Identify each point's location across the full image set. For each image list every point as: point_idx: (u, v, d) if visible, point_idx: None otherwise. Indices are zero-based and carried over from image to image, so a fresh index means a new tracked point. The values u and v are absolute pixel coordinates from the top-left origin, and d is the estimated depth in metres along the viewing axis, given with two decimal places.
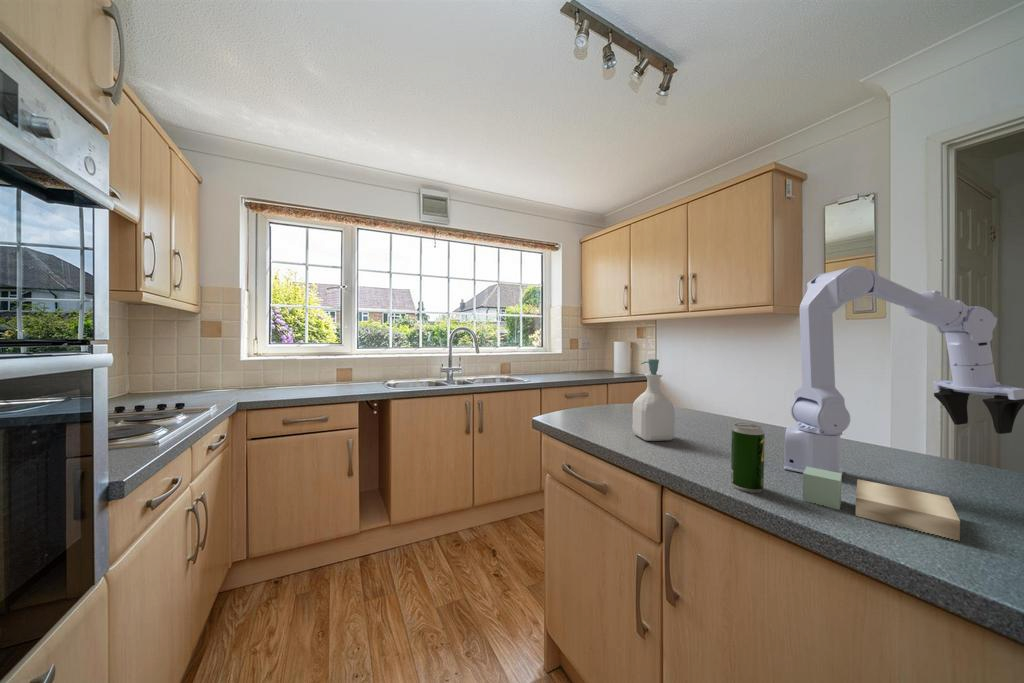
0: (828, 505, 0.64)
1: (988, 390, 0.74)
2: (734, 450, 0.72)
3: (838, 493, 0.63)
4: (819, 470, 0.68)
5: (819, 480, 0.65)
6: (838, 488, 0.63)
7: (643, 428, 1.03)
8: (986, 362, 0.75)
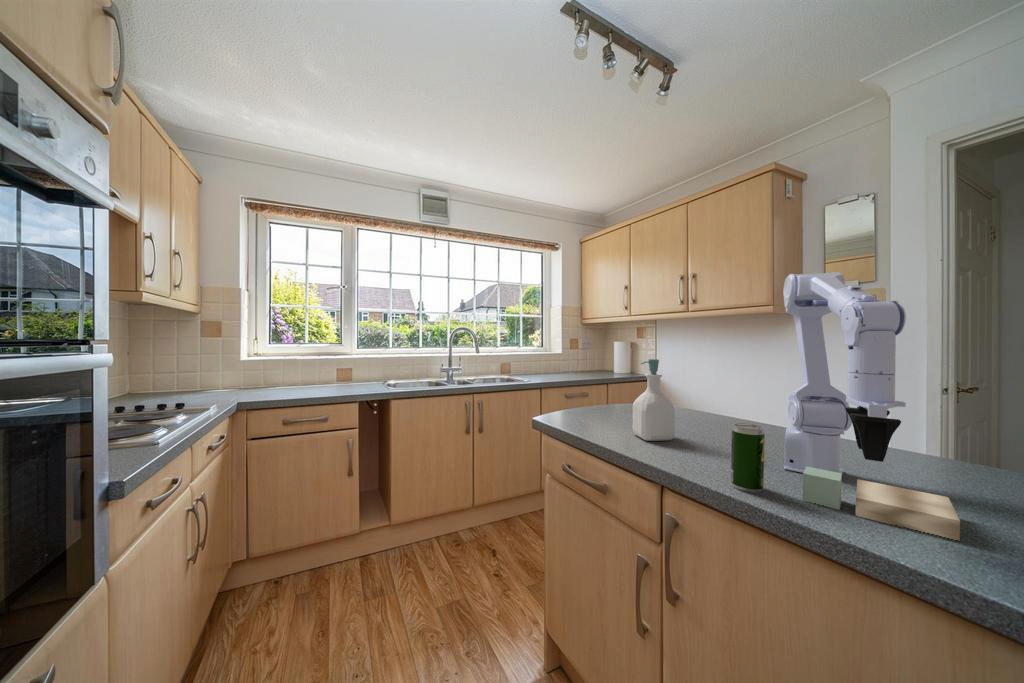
0: (828, 505, 0.64)
1: (859, 403, 0.60)
2: (734, 450, 0.72)
3: (838, 493, 0.63)
4: (819, 470, 0.68)
5: (819, 480, 0.65)
6: (838, 488, 0.63)
7: (644, 428, 1.03)
8: (849, 369, 0.63)
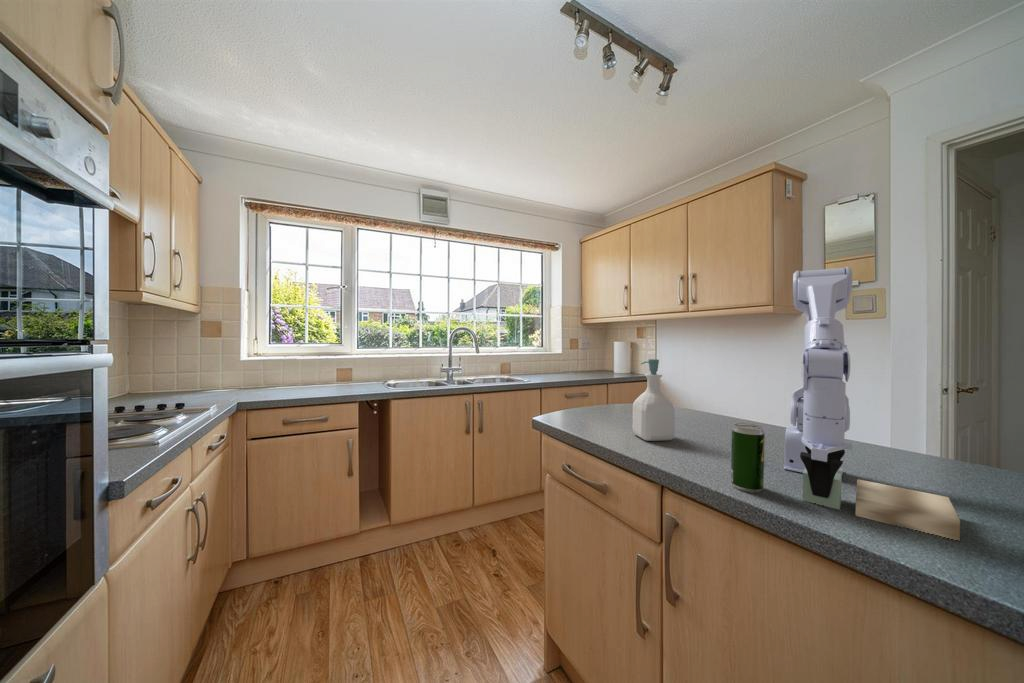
0: (828, 504, 0.64)
1: (807, 445, 0.65)
2: (734, 450, 0.72)
3: (838, 492, 0.63)
4: None
5: None
6: (838, 487, 0.63)
7: (644, 428, 1.03)
8: (803, 411, 0.68)
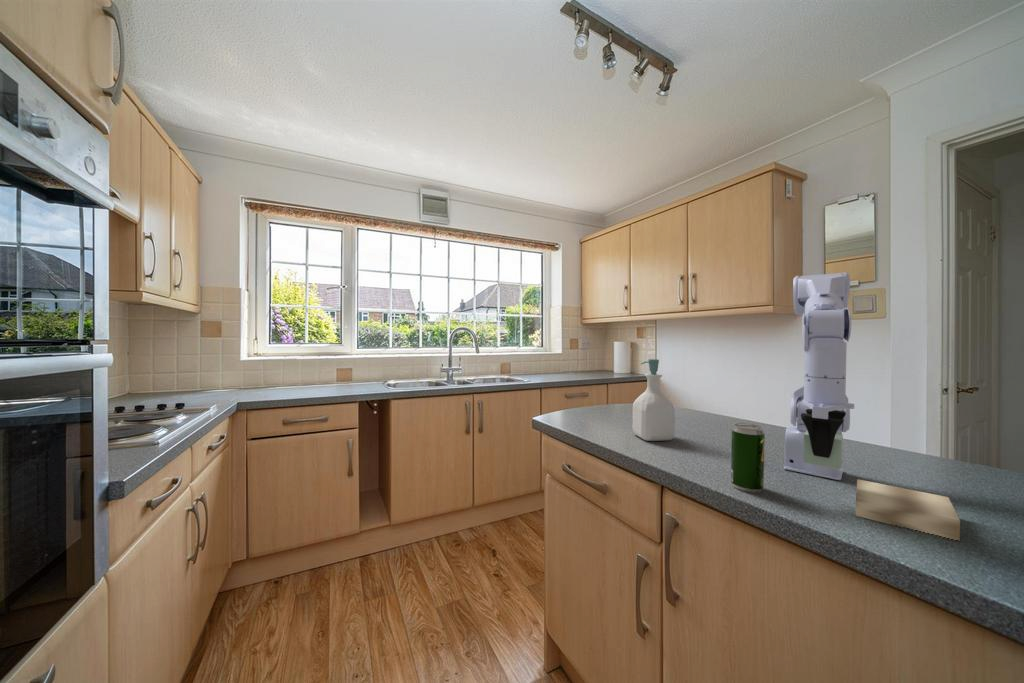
0: (829, 465, 0.64)
1: (808, 405, 0.65)
2: (734, 450, 0.72)
3: (839, 452, 0.63)
4: None
5: None
6: (839, 447, 0.63)
7: (644, 428, 1.03)
8: (804, 373, 0.68)
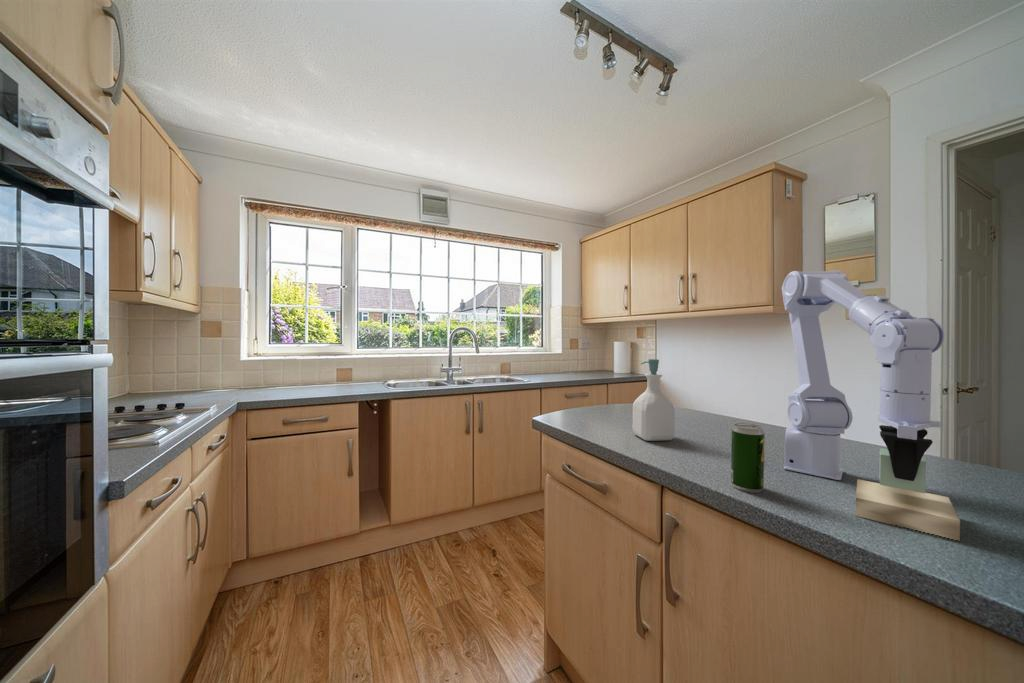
0: (911, 488, 0.59)
1: (889, 423, 0.59)
2: (734, 450, 0.72)
3: (923, 475, 0.58)
4: None
5: None
6: (923, 469, 0.58)
7: (644, 428, 1.03)
8: (885, 388, 0.61)
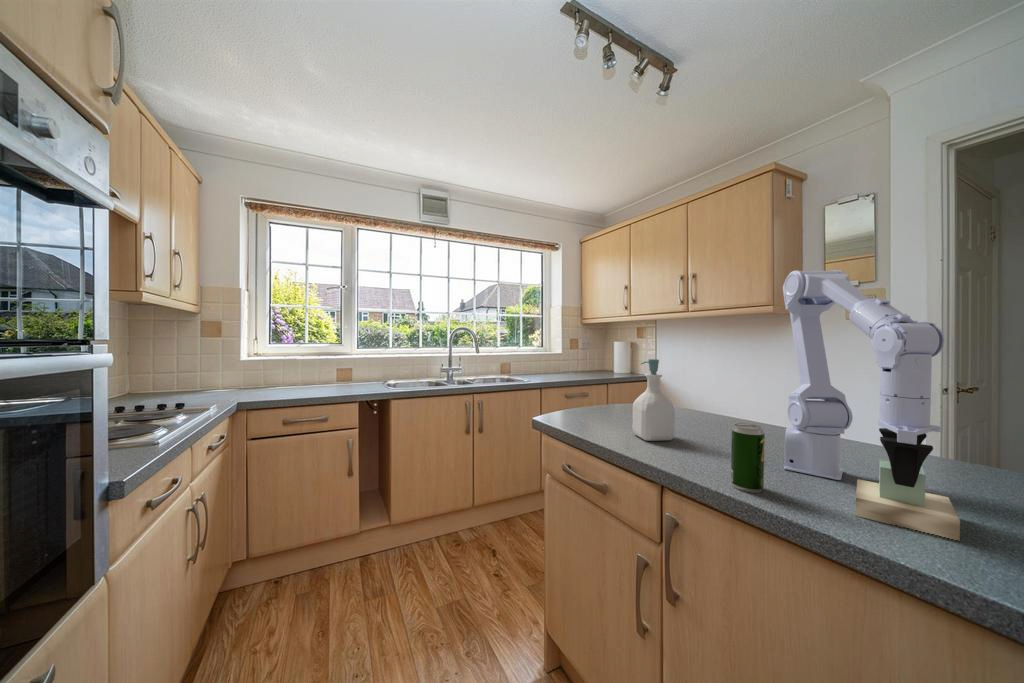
0: (911, 501, 0.59)
1: (889, 427, 0.59)
2: (734, 450, 0.72)
3: (923, 488, 0.58)
4: None
5: None
6: (923, 483, 0.58)
7: (644, 428, 1.03)
8: (885, 392, 0.61)
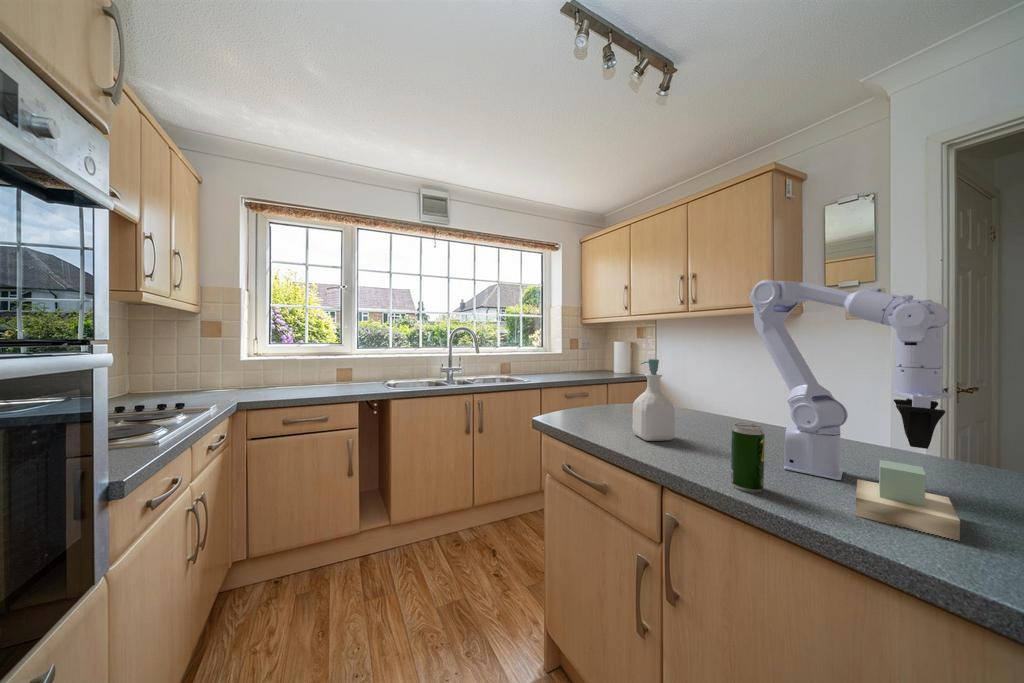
0: (911, 501, 0.59)
1: (904, 395, 0.65)
2: (734, 450, 0.72)
3: (923, 488, 0.58)
4: (896, 463, 0.63)
5: (900, 474, 0.60)
6: (923, 483, 0.58)
7: (644, 428, 1.03)
8: (909, 364, 0.66)
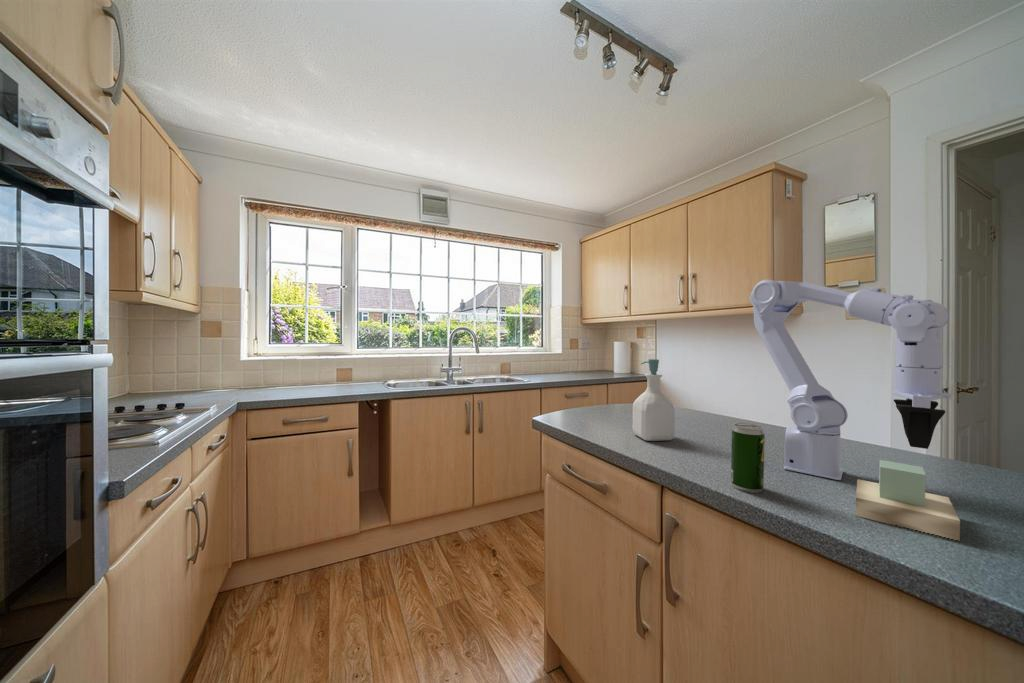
0: (911, 501, 0.59)
1: (904, 395, 0.65)
2: (734, 450, 0.72)
3: (923, 488, 0.58)
4: (896, 463, 0.63)
5: (900, 474, 0.60)
6: (923, 483, 0.58)
7: (644, 428, 1.03)
8: (909, 364, 0.66)
